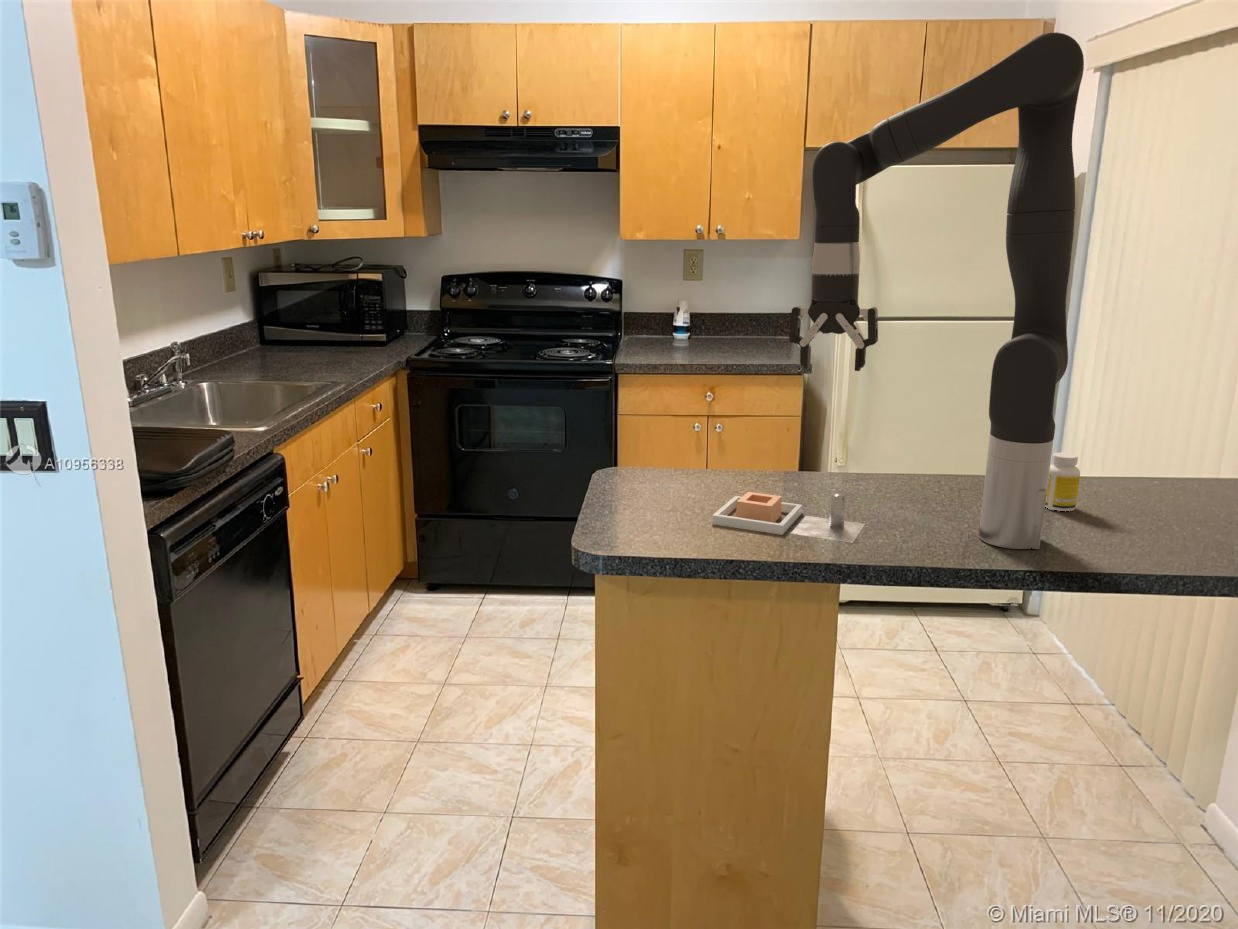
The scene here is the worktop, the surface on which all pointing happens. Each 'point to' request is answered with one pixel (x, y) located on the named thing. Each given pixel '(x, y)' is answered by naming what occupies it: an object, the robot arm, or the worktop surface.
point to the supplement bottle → (1063, 482)
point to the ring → (759, 507)
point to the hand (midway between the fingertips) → (831, 369)
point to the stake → (830, 523)
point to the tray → (756, 525)
